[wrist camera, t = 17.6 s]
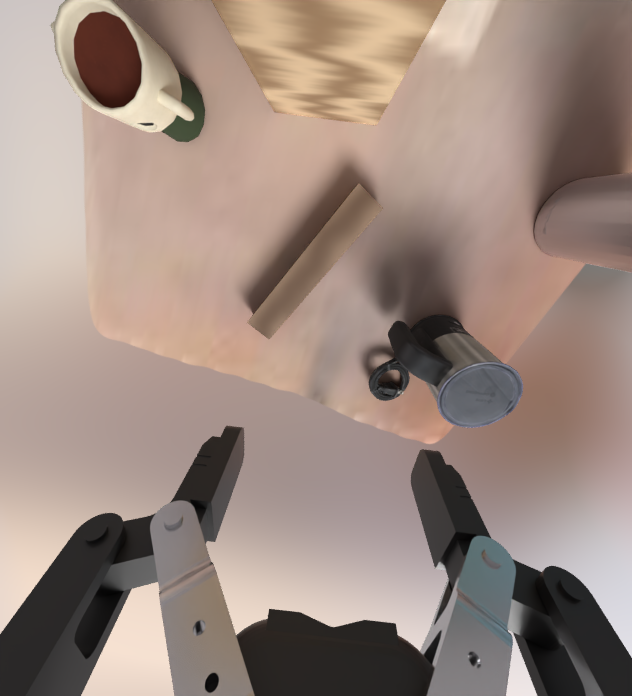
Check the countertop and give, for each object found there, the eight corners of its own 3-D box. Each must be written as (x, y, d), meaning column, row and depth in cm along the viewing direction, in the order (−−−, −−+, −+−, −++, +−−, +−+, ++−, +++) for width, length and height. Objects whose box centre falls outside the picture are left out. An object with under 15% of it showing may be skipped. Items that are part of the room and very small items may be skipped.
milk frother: (474, 318, 43) (540, 367, 29) (441, 401, 50) (482, 471, 36) (382, 306, 43) (406, 350, 29) (362, 391, 50) (373, 458, 36)
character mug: (128, 115, 33) (21, 65, 22) (143, 43, 31) (28, -59, 19) (214, 168, 35) (157, 148, 24) (235, 105, 33) (182, 48, 21)
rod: (377, 208, 37) (383, 208, 33) (274, 329, 45) (269, 339, 42) (356, 185, 36) (358, 183, 32) (253, 313, 44) (247, 322, 41)
